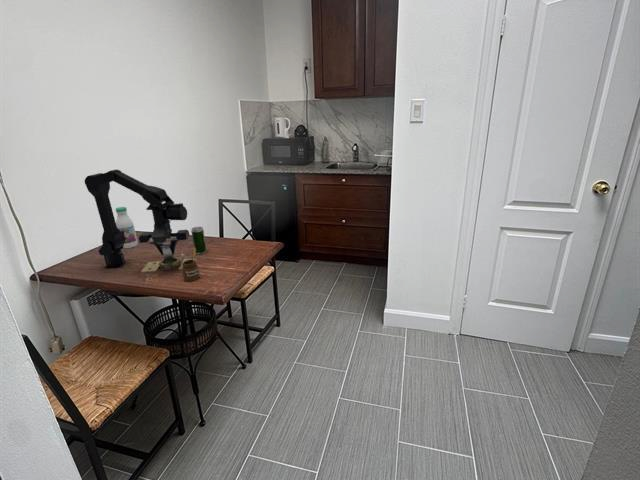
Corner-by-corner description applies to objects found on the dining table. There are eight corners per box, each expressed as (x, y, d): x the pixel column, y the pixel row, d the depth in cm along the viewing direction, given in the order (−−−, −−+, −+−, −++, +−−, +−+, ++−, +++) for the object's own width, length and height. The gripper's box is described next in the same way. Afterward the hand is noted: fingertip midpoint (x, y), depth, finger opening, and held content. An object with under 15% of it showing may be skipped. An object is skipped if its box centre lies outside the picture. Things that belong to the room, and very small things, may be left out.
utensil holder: (181, 278, 136) (176, 250, 132) (196, 273, 140) (191, 246, 136) (187, 283, 132) (182, 254, 128) (203, 277, 136) (198, 249, 132)
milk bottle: (122, 244, 175) (113, 206, 169) (139, 242, 178) (131, 205, 171) (119, 249, 168) (109, 210, 162) (136, 247, 171) (127, 208, 164)
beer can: (196, 255, 159) (192, 230, 155) (193, 251, 163) (189, 228, 159) (208, 252, 162) (204, 228, 157) (204, 249, 166) (201, 225, 162)
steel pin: (161, 260, 144) (158, 246, 142) (164, 256, 149) (162, 242, 146) (173, 259, 145) (170, 245, 143) (175, 255, 149) (173, 241, 147)
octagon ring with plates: (141, 272, 142) (139, 267, 141) (149, 263, 152) (148, 258, 151) (193, 268, 145) (192, 263, 144) (198, 259, 154) (197, 254, 153)
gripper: (130, 227, 132) (138, 264, 138) (180, 224, 134) (186, 260, 140) (140, 219, 143) (147, 253, 148) (186, 216, 145) (192, 250, 150)
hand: (168, 254), depth 146 cm, fingers closed on steel pin, 4 cm apart
